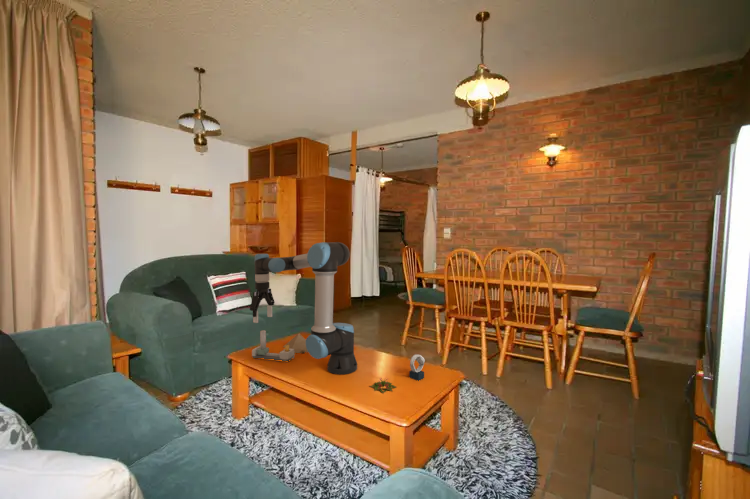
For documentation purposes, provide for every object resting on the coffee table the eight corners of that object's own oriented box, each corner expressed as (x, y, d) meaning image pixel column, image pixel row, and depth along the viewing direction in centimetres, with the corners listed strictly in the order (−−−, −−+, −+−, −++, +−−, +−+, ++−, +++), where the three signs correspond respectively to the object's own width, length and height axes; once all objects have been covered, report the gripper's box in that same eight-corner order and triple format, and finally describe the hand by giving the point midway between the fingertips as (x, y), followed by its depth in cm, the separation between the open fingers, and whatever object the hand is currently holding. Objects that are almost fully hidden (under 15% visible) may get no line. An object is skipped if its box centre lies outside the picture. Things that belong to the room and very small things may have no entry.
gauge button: (289, 352, 184) (289, 344, 184) (287, 353, 182) (287, 346, 182) (286, 351, 184) (286, 344, 184) (284, 353, 182) (284, 345, 182)
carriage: (269, 352, 189) (268, 330, 188) (263, 355, 184) (263, 332, 183) (262, 352, 190) (262, 329, 189) (257, 355, 185) (257, 332, 184)
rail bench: (294, 357, 186) (294, 348, 186) (288, 362, 179) (287, 353, 179) (259, 354, 192) (259, 345, 191) (252, 358, 185) (252, 349, 185)
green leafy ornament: (383, 380, 158) (383, 370, 158) (402, 388, 149) (402, 378, 149) (364, 387, 150) (364, 377, 150) (382, 397, 141) (382, 386, 141)
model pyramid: (288, 356, 189) (288, 339, 189) (282, 347, 204) (282, 331, 204) (317, 351, 197) (317, 335, 196) (308, 343, 212) (308, 327, 212)
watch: (426, 377, 160) (426, 354, 160) (416, 382, 155) (416, 358, 154) (417, 373, 164) (417, 351, 164) (406, 378, 159) (406, 355, 158)
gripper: (268, 278, 198) (269, 314, 199) (242, 284, 174) (243, 324, 175) (280, 279, 196) (280, 314, 197) (254, 284, 172) (255, 325, 173)
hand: (263, 319), depth 186 cm, fingers open, 13 cm apart
